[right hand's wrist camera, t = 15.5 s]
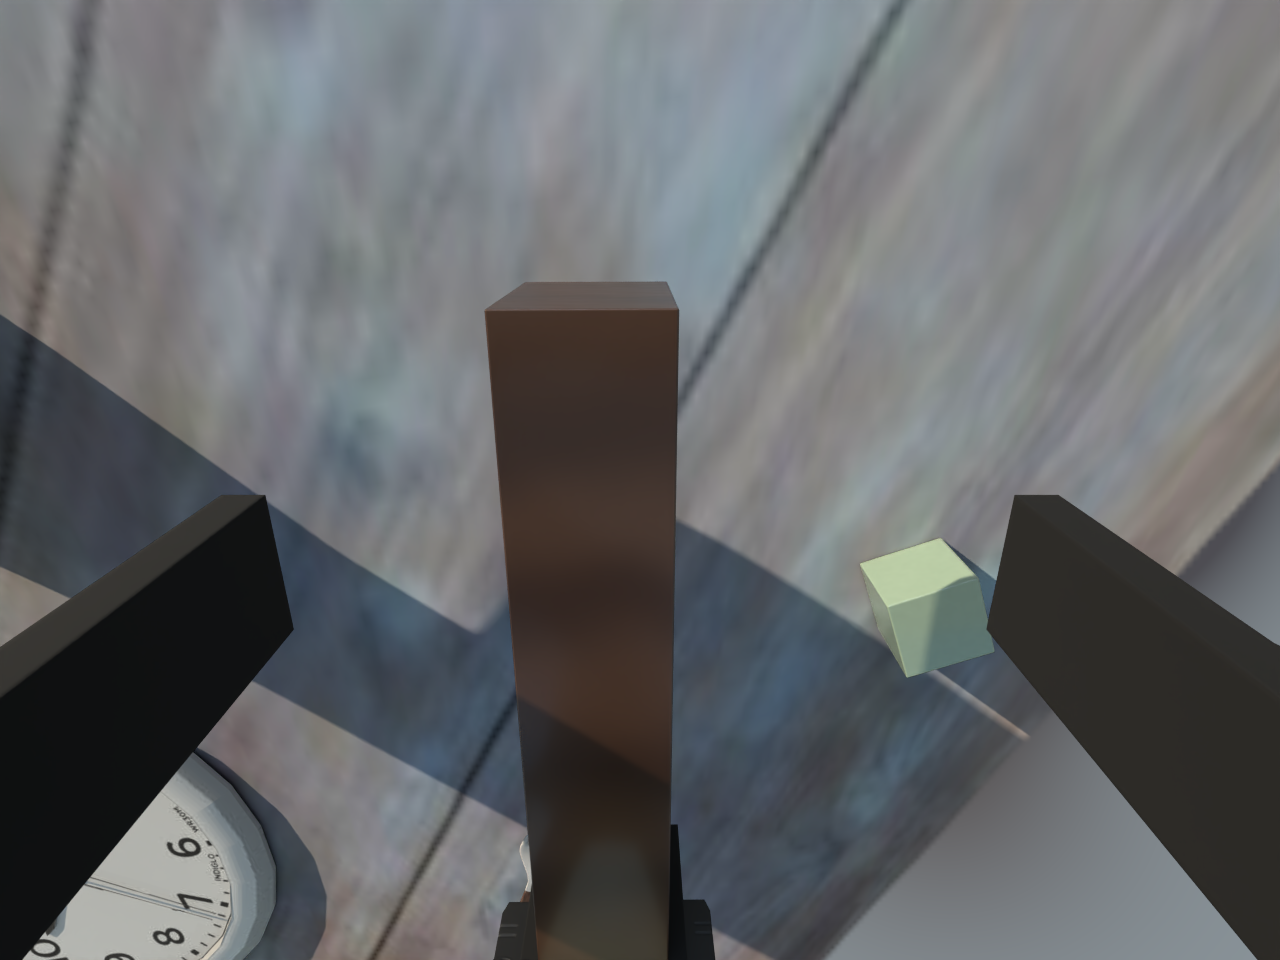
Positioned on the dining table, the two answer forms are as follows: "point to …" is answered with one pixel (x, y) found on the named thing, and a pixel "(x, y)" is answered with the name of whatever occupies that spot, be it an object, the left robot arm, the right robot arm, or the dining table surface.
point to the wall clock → (174, 882)
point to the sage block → (928, 607)
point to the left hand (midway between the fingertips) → (609, 847)
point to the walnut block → (591, 599)
